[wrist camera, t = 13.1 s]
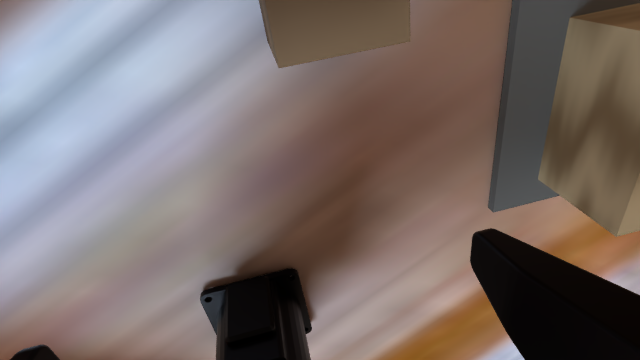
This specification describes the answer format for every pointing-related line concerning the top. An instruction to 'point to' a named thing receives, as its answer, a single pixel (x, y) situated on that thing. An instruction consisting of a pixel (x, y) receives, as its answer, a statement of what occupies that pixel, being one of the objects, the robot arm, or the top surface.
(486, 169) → the top surface
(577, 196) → the wooden block
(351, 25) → the brown wooden cube
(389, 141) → the top surface
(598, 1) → the mat
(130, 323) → the top surface
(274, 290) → the robot arm
